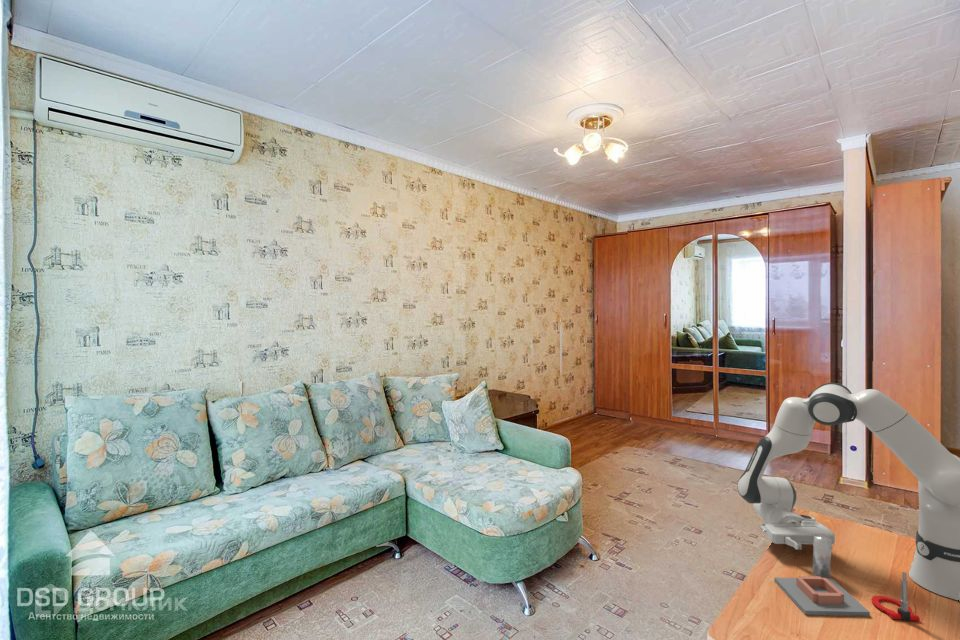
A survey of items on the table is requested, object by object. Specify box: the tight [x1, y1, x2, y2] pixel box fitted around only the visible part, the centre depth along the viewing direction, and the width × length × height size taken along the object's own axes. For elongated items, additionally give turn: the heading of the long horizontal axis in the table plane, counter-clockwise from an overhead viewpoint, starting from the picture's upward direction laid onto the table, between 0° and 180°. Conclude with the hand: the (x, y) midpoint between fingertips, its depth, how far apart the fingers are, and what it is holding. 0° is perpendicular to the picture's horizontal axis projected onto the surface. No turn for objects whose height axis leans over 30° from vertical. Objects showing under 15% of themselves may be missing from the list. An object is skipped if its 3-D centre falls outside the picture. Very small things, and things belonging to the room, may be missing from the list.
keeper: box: [773, 575, 871, 617], centre depth 128 cm, size 17×14×4 cm
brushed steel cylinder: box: [812, 534, 832, 579], centre depth 138 cm, size 4×4×12 cm
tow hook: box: [871, 571, 921, 622], centre depth 123 cm, size 8×13×9 cm
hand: (814, 547), depth 142 cm, fingers open, 8 cm apart
